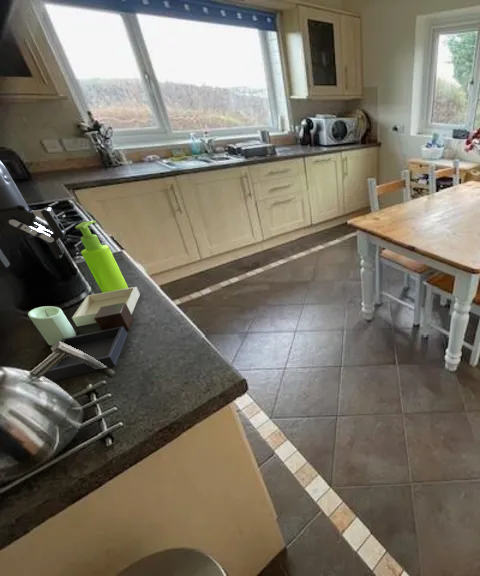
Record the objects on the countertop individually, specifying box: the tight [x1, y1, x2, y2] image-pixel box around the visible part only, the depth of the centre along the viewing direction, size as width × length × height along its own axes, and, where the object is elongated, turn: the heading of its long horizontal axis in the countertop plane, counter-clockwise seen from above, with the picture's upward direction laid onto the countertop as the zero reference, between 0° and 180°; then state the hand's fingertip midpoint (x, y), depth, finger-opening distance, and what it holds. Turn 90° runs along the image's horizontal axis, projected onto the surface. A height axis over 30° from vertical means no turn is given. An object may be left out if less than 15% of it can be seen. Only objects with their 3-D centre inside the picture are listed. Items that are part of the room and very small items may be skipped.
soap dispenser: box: [74, 220, 129, 293], centre depth 89 cm, size 6×7×20 cm
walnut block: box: [94, 303, 134, 332], centre depth 78 cm, size 5×5×5 cm
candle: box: [27, 305, 77, 347], centre depth 73 cm, size 5×5×8 cm
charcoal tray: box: [44, 326, 128, 382], centre depth 69 cm, size 11×11×3 cm
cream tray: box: [71, 286, 141, 327], centre depth 85 cm, size 11×11×3 cm
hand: (33, 261), depth 69 cm, fingers open, 8 cm apart
